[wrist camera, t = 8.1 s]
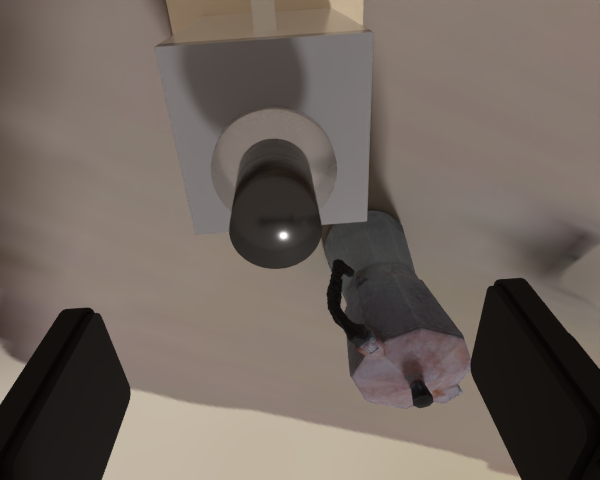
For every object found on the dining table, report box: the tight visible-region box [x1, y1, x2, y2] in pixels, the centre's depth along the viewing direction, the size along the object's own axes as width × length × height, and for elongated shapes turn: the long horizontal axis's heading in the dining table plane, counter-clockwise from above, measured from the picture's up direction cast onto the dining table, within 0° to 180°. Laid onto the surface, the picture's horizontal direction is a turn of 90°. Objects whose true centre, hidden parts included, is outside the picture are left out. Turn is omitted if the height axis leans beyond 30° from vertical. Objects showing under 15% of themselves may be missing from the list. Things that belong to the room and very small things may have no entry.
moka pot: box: [324, 210, 471, 409], centre depth 38 cm, size 10×15×20 cm, turn 51°
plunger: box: [211, 105, 337, 269], centre depth 25 cm, size 8×8×23 cm
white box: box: [154, 0, 373, 235], centre depth 29 cm, size 15×19×18 cm
